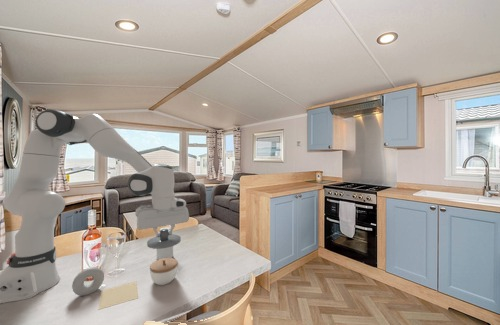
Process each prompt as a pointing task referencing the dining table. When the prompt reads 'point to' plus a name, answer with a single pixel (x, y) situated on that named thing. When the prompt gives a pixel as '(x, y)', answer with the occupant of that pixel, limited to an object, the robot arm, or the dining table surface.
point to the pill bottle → (165, 250)
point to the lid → (163, 240)
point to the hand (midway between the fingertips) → (164, 235)
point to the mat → (118, 295)
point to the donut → (80, 278)
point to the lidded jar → (163, 270)
